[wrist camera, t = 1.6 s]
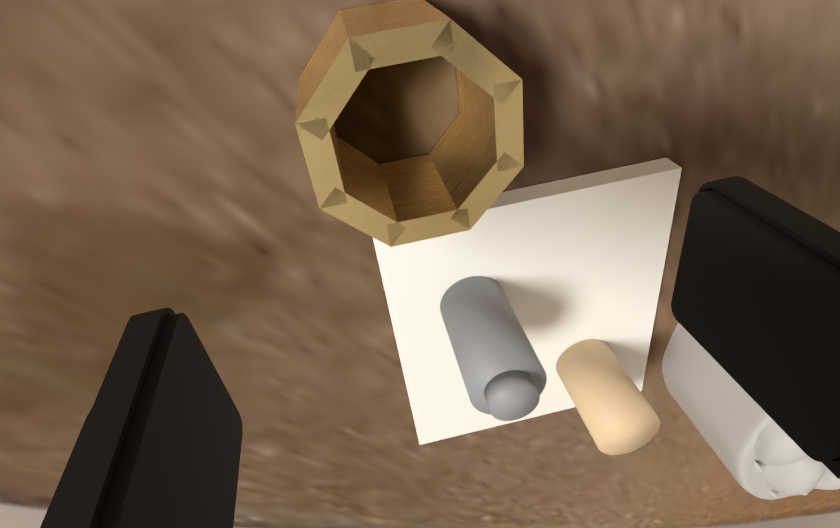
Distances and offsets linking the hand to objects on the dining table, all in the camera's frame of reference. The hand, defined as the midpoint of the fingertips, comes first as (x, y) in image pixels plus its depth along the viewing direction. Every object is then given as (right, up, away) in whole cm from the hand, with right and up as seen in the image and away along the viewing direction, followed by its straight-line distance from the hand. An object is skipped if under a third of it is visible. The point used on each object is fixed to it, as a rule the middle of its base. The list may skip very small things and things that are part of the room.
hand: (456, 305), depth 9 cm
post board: (+5, -2, +18) cm, 19 cm away
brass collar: (-2, +7, +10) cm, 13 cm away
